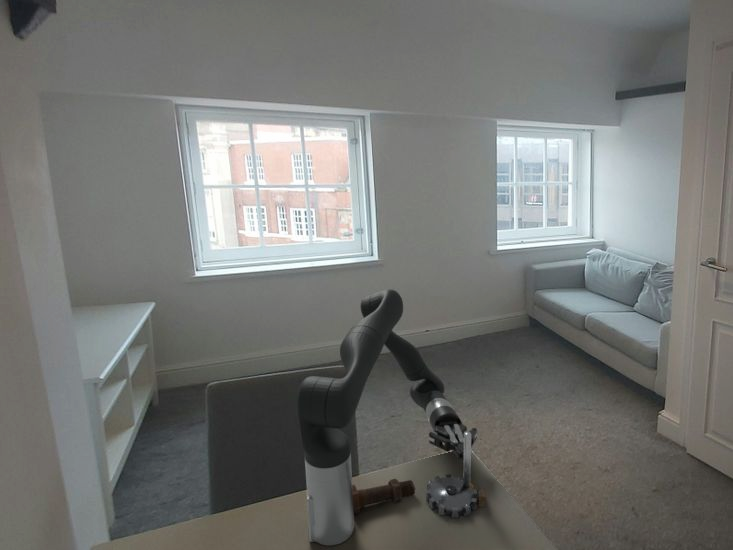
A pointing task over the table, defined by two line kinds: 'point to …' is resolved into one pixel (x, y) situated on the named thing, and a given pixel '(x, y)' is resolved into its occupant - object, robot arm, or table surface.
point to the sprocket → (454, 488)
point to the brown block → (482, 498)
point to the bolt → (382, 493)
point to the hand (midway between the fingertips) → (465, 457)
